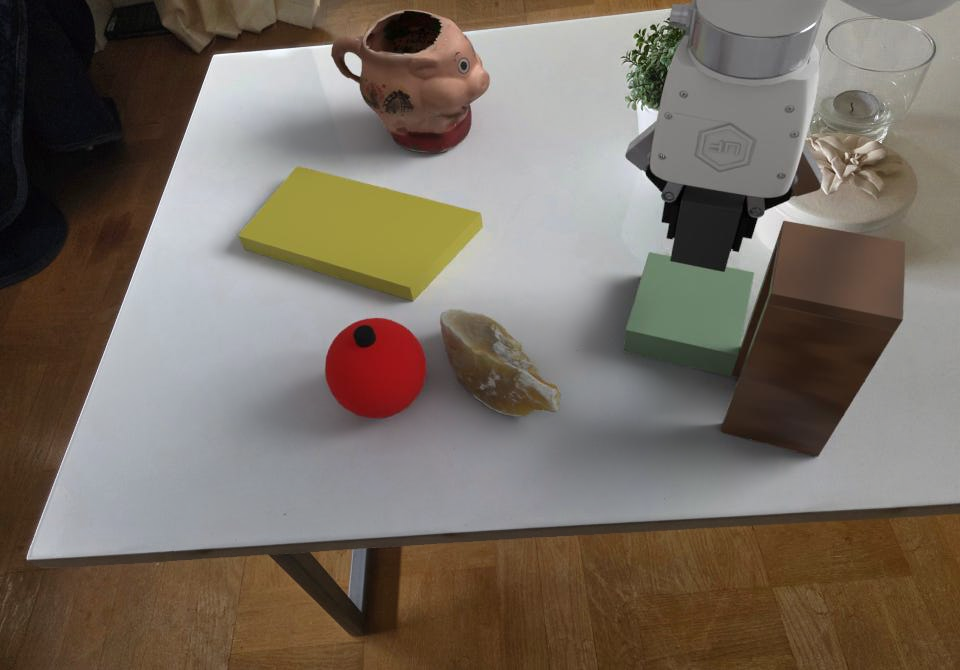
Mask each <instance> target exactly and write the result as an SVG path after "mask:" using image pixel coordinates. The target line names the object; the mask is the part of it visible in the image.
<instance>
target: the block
mask: <svg viewBox="0 0 960 670" xmlns="http://www.w3.org/2000/svg"><path fill="white" fill-rule="evenodd" d="M744 199H745V195H742V194H736V193H730V192H724V191H718V190H712V189H706V188H701V187H695V186H689V185H686V186H685V190H684V193H683V197H682V200H681V205H680V211H679V216H678V221H677V227H676V232H675V237H674V238H673V243H672V248H671V254H670V256H671V259H670V261H671V262H676V263H681V264H686V265H691V266H696V267H701V268H706V269H711V270H716V271H721V272H725V269H726V267H727V265H728V262H729V258H730V254H731V252H732V251H731V250H732V249H731V248H732V244H733V241H734V237H735V233H736V230H737V226H738V223H739V219H740V216H741V212H742V208H743V203H744Z"/></svg>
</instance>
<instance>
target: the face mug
mask: <svg viewBox="0 0 960 670" xmlns="http://www.w3.org/2000/svg"><path fill="white" fill-rule="evenodd" d="M330 53H331V54H330V56H331V58H332V61H333V62H334V64H335V67H336V68H337V69H338V71H339V72H340V73H341V75H342V76H344V77H345V78H347V79H350V80H353V81H354V82H355V83H357V84H359V92H360V95H361V97H362V100H363V101H364V103H366V105H367V106H368V107H369V108H370V110H372V111H373V112H374V113H375V114H376V115H377V117H378V118H379V120H380V121H381V123H382V124H383V125H384V126H385V128H386V129H387V131H388V132H389V133H390V135H391V136H392V139H393V140H394V142H395V143H396V144H397V145H399V146H401V147H402V148H405V149H407V150H409V151H413V152H417V153H418V152H419V153H431V154H434V153H435V154H437V153H438V154H439V153H443V152H447V151H449V150H451V149H453V148H455V147H457V146H458V145H459V144H460V143H462V142H463V141H464V140H465V139H466V138H467V136H468V134H469V133H470V131H471V127H472V121H473V120H472V117H473V116H472V108H471V104H472V103H474V102H475V101H476V100H477V99H479V98H480V97H481V96H483V95H485V93H486V92H487V91H488V89H489V87H490V84H491V83H490V82H491V76H490V74H489V73H488V71H487V70H486V69H484V67H483V66H484V65H483V61H482V58H481V57H480V55H479V53H477V52H476V50H475V48H474V46H473V44H472V41H471V40H470V39H469V38H468V36H467V35H466V34H464V33H463V31H462V30H461V29H460V28H459V27H458V25H457V24H456V23H455V22H454V21H452V19H449V18H447V17H443V16H441V15H438V14H435V13H432V12H429V11H425V10H419V9H417V10H416V9H401V10H397V11H393V12H391V13H388V14H386V15H384V16H381V17H380V18H378V19H376V20H375V21H374V22H372V23H371V24H370V25H369V26H368V28H367V29H366V31H365V32H364V34H363V35H355V34H348V35H342V36H340V37H338V38H336V39H335V41H333V43H332V46H331V52H330ZM347 53H352V54H354V55H355V56H356V57H358V58H359V59H360V60H361V71H360V75H357V74H355V73H353V72H352V71H351V70H350V69H349V67H348V65H347V63H346V61H345V60H346V59H345V56H346V54H347Z"/></svg>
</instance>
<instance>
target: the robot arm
mask: <svg viewBox="0 0 960 670" xmlns="http://www.w3.org/2000/svg"><path fill="white" fill-rule="evenodd" d="M840 1H841V2H843V3H845V4H847V5H848V6H850V7H852V8H854V9H857V10H858V11H861V12H862V13H865V14H868V15H870V16H873V17H877V18H880V19H883V20H884V19H885V20H891V21H898V22H899V21H900V22H902V21H903V22H904V21H906V22H907V21H908V22H909V21H916V20H922V19H925V18H928V17H933V16H936V15H937V14H939V13H942V12H943V11H946V10H948V9H949V8H952V7H953V6H954V5H956V4H957V3H958V2H960V0H840ZM827 2H828V0H691V2H690V3H689V2H685V3H684V4H677V3H673V4H672V6H671V9H670V12H669V13H670V14H669V20H668V26H669V27H673V28H679V30H681V31H685V34H684V35H683V36H682V37H681V40H680V42H679V44H678V45H677V47H676V49H675V51H674V53H673V56H672V59H671V61H670V65H669V67H668V70H667V74H666V77H665V81H664V85H663V89H662V92H661V97H660V101H659V107H658V112H657V116H656V120H655V121H654V122H653V123H652V124H651V125H649V126H648V127H647V128H646V129H645V130H644V131H642V132H641V133H640V134H638V135H637V136H636V137H635V138H634V139H633V140H632V141H630V142H629V144H628V146H627V149H626V151H625V155H624V156H625V159H626V160H627V161H628V162H630V163H631V164H632V165H633V166H635V167H636V168H637V169H639V171H643V172H644V173H645V177H646V178H647V179H648V180H649V181H650V182H651V183H652V184H653V185H654V187H656V188H657V189H658V190H659V191H660V192H661V195H660V197H661V200H662V201H663V202H664V203H663V207H662V208H663V209H662V214H661V223H664V224H667V225H668V227H667V233H666V239H667V240H673V241H674V237H675V232H676V227H677V221H678V216H679V211H680V205H681V200H682V197H683V193H684V190H685V186H686V185H689V186H695V187H701V188H706V189H712V190H718V191H724V192H730V193H736V194H742V195H745V199H744V203H743V208H742V212H741V216H740V219H739V223H738V226H737V230H736V233H735V237H734V241H733V244H732V248H731V250H732V251H731V252H735V253H740V250H741V246H742V243H743V240H744V239H749V240H752V239H753V236H754V233H755V230H756V227H757V222H758V220H759V218H762V217H763V216H764V215H765V212H766V211H768V210H771V209H773V208H775V207H777V206H779V205H782V204H784V203H787V202H789V201H790V200H791V198H793V197H796V198H798V197H801V196H804V195H808V194H812V193H814V192H817V191H819V190H821V188H822V184H823V183H822V182H823V172H822V170H821V168H820V166H819V165H818V163H817V161H816V159H815V158H814V155H813V154H812V152H811V150H810V148H809V146H808V145H807V143H806V139H807V137H808V132H809V129H810V126H811V120H812V117H813V113H814V108H815V105H816V99H817V93H818V86H819V78H820V53H819V50H818V48H817V46H816V45H815V40H816V38H817V34H818V31H819V27H820V24H821V21H822V18H823V15H824V11H825V8H826V5H827Z"/></svg>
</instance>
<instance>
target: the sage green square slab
mask: <svg viewBox="0 0 960 670" xmlns="http://www.w3.org/2000/svg"><path fill="white" fill-rule="evenodd" d="M670 259H671V255H668V254H667V255H666V254H662V253H657V252H651V251H649V252H648V253H647V257H646V261H645V264H644V267H643V271H642V274H641V278H640V281H639V284H638V287H637V290H636V294H635V296H634V297H635V298H634V300H633V304H632V306H631V310H630V314H629V317H628V321H627V324H626V328H625V332H624V338H623V339H624V340H623V349H622V352H623V353H627V354H632V355H636V356H640V357H645V358H649V359H653V360H657V361H662V362H666V363H671V364H673V365H679V366H683V367H688V368H691V369H695V370H701V371H705V372H708V373H713V374H718V375H723V376H727V377H731V378H732V373H733V370H734V367H735V364H736V361H737V358H738V356H739V351H740V346H741V343H742V341H743V336H744V335H743V334H744V329H745V324H746V319H747V313H748V308H749V303H750V297H751V293H752V288H753V280H754V277H755V272H754V271H749V270H744V269H740V268H733V267H729V266H726V269H725V272H721V271H716V270H711V269H706V268H701V267H696V266H691V265H686V264H681V263H676V262H671V261H670Z"/></svg>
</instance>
